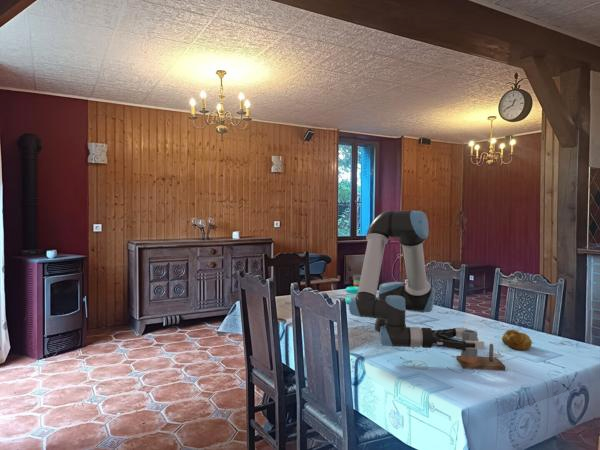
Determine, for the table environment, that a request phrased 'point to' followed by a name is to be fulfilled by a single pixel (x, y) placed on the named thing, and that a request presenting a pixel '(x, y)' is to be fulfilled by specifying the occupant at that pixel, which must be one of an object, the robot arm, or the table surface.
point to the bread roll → (516, 340)
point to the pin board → (483, 362)
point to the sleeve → (469, 354)
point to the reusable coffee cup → (356, 280)
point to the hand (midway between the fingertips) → (478, 339)
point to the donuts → (351, 292)
